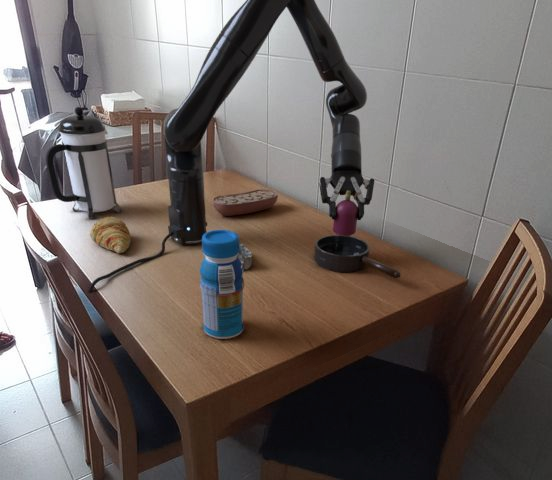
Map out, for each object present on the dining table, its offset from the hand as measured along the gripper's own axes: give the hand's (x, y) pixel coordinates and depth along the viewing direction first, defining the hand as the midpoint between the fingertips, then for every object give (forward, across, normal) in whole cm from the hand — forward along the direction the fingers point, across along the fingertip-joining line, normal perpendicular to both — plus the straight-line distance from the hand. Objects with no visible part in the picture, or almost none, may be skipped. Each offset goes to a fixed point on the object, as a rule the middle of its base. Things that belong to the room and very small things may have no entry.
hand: (346, 218), depth 119 cm
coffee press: (-15, -75, +32) cm, 83 cm away
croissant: (+2, -63, +15) cm, 65 cm away
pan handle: (+13, +8, +1) cm, 15 cm away
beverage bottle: (+32, -28, -15) cm, 45 cm away
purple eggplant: (+2, 0, +4) cm, 5 cm away
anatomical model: (-18, -27, +36) cm, 48 cm away
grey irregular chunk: (+9, -28, +8) cm, 31 cm away
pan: (+8, 0, +10) cm, 12 cm away
